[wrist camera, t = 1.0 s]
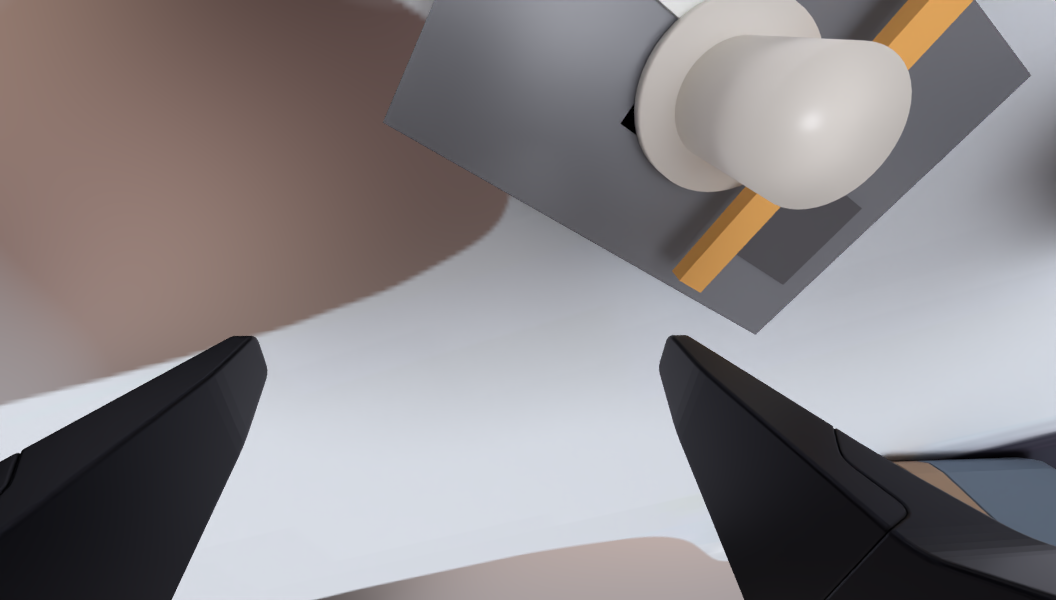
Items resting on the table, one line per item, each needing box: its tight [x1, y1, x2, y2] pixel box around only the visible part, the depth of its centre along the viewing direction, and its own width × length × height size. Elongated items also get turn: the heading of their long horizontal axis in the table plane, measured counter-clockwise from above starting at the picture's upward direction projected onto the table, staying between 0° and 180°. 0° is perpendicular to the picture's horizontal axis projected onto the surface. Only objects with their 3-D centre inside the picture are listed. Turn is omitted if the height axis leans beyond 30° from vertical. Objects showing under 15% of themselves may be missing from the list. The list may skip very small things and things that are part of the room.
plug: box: [634, 0, 912, 210], centre depth 15 cm, size 6×6×9 cm
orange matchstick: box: [672, 0, 973, 293], centre depth 15 cm, size 14×2×1 cm, turn 148°
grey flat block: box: [383, 0, 1031, 334], centre depth 16 cm, size 20×15×4 cm
